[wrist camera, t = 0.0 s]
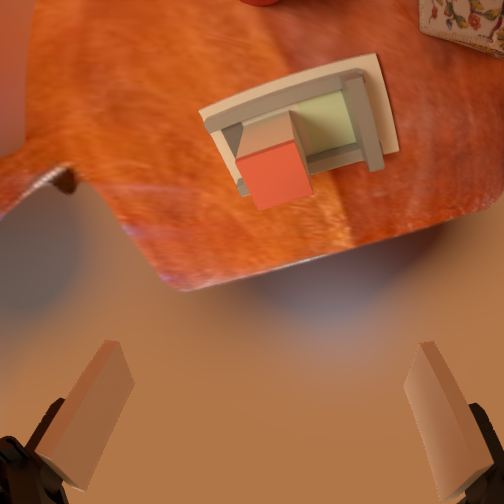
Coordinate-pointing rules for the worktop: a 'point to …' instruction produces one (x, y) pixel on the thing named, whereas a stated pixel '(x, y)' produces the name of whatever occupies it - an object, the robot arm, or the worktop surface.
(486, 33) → the decorative jar
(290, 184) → the block
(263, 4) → the beer can
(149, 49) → the worktop surface
